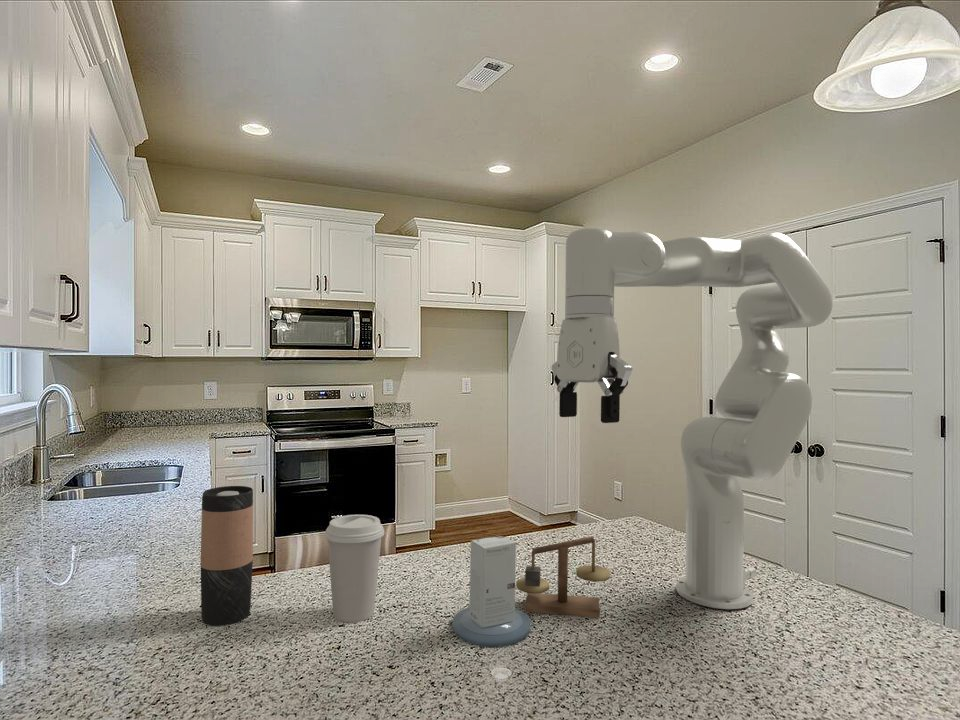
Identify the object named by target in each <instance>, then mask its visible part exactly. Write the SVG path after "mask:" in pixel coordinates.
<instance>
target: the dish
mask: <svg viewBox="0 0 960 720" xmlns="http://www.w3.org/2000/svg"><path fill="white" fill-rule="evenodd" d="M469 612H470V606H467V607H465V608H463V609H461V610H460V611H458V612H457V613H456V614H455V615H454V616H453V619H452V631H453V633H454V635H456V637H458V638H459V639H460V640H462V641H464V642H466V643H468V644H469V643H470V644H472V645H476V646H482V647H504V646H510V645H513V644H517V643H520V642H522V641H523V640H525V639H527V637H528V636H529V634H530V633H531V620H530V618H529V616H528V615H527V614H526V613H525V612H523V611H522V610H520V609H518V608H515V619H514V620H513V621H511V622H507V623H503V624H499V625H494V626H489V627H485V628H481V627H480V626H478V625H477V624H476V623H475V622H474V621H473V620H472V619H471V618H470V617H469Z"/></svg>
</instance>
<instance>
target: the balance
mask: <svg viewBox="0 0 960 720" xmlns="http://www.w3.org/2000/svg"><path fill="white" fill-rule="evenodd" d="M589 544H591V564H589V565H587V564H586V565H581V566H579V567H576V569H575V570H576V571H575V575H576V576H577V578H579V579H580V580H581V579H582V580H584V581H588V582H599V583H600V582H605V581H609V580H610V579H611V571H610V570H609V569H608V568H606V567H603V566H599V565H596V539H595V538H594V536H593V535H591V536H588V537H583V538H578V539H577V538H576V539H572V540H569V541H568V540H567V541H563V542H558V543H553V544H548V545H543V546H538V547H533V548H531V550H532V551H531V565H526V566H525V573H524V577H520V578H519V579H517V580H516V581H515V588H517V590H518V591H521V592H523V593H526V600H525V604H524V605H525V606H524V607H525V608H524V609H525V612H527V613H537V614H539V613H540V614H549V615H560V616H561V615H563V616H574V617H575V616H576V617H583V618H584V617H588V618H598V619H600V618H601V616H600V615H601V612H600V611H601V610H600V600H599V599H600V598H599V597H595V596H594V597H593V596H592V597H591V596H580V595H569V594H568V586H569V585H568V582H569V581H568V580H569V579H568V577H569V576H568V573H569V572H568V571H569V569H568V567H569V565H568V564H569V563H568V562H569V548H572V547H577V546H584V545H589ZM554 551H558V552H557V553H558V554H557V561H558V562H557V594H556V593H546V592H548V591H549V590H550V582H549V581H548V580H547V579H544V578H541V569H542V568H541V566H535V565H536V564H535V557H536V555H538V554H543V553H548V552H554ZM525 612H524V613H525Z"/></svg>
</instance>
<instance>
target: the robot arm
mask: <svg viewBox="0 0 960 720" xmlns="http://www.w3.org/2000/svg"><path fill="white" fill-rule="evenodd" d="M565 243H566V244H565V285H564V286H565V287H564V288H565V290H564V291H565V292H564V293H565V298H564V299H565V300H564V318H563V319H562V321H561V325H560V331H559V336H558V344H557V355H556V356H557V358H556V359H557V360H556V362H554V363H553V364H552V365H551V372H552V374H553V382H554V383H555V384H556V390H557V392H558V393H559V407H558V408H559V414H558V415H559V417H560V418H573V417H577V415H578V392H577V391H575V390H576V388H577V386H578V385H579V383H588V384H589V383H598V385H599V386H600V389H601V390H602V393H603V394H604V395H601V397H600V422H601V423H603V424H611V423H612V424H613V423H614V424H615V423H619V422H620V413H621V412H620V411H621V410H620V409H621V408H620V402H621V401H620V398H621V396H624V395H623V394H624V390H625V389H626V388H627V387H628V385H629V379H630V377H631V375H632V372H633V366H631V365H630V364H629V363H628V362H626V361H625V360H623V359H622V358H620V357H621V355H620V353H621V352H620V341H619V340H620V339H619V331H618V324H617V319H616V317H615V288H616V287H619V288H623V287H624V288H635V287H636V288H637V287H639V288H640V287H643V288H644V287H645V288H646V287H648V288H649V287H660V288H661V287H665V288H676V287H677V288H681V287H711V288H712V287H713V288H714V287H715V288H717V287H718V288H743V287H750V286H752V287H751V288H749V289H746V290H745V291H744V292H742V293H741V294H740V295H739V297H738V299H737V302H736V304H735V305H736V306H735V313H736V318H737V322H738V326H739V330H740V335H741V343H742V344H741V349H740V351H739V354H738V355H737V357H736V359H735V361H734V362H733V363H732V365H731V368H730V369H729V370H728V373H727V374H726V376H725V377H724V379H723V381H722V383H721V384H720V386H719V388H718V390H717V392H716V395H715V400H714V405H715V408H716V410H717V412H718V414H720V415H721V416H722V417H717V416H705V417H703V416H702V417H698V418H694V419H693V420H692V421H690V422H688V424H687V425H686V426H685V427H684V429H683V431H682V432H681V438H680V450H681V455H682V460H683V466H684V473H685V484H686V499H685V500H686V501H685V503H686V504H685V521H686V522H685V576H684V577H682V578H680V579H678V580H677V581H676V587H675V588H676V592H677V594H678V595H679V596H680V597H681V598H683V599H685V600H687V601H689V602H691V603H693V604H696V605H700V606H703V607H706V608H711V609H719V610H740V609H745V608H747V607H750V606H751V605H752V604H753V601H754V595H753V592H752V591H751V590H750V589H749V588H748V587H746V582H747V581H748V580H749V579H754V578H756V577H757V576H758V572H757V569H756V568H755V567H753V566H748V567H745V568H744V542H745V541H744V535H745V533H744V532H745V527H744V526H745V524H744V523H745V498H744V493H743V489H742V487H741V484H740V482H739V479H738V477H739V478H743V479H748V480H753V481H767V480H770V479H772V478H774V477H776V476H777V475H778V474H779V473H780V472H781V470H782V468H783V467H784V466H785V464H786V462H787V460H788V459H789V457H790V455H791V453H792V451H793V449H794V448H795V445H796V443H797V441H798V440H799V438H800V436H801V434H802V432H803V430H804V428H805V426H806V424H807V422H808V421H809V418H810V415H811V411H812V405H813V395H812V391H811V387H810V386H809V384H808V383H807V381H806V380H805V379H804V378H803V377H801V376H799V374H795V373H792V372H787V369H788V366H789V362H790V356H789V352H788V350H787V347H786V346H785V344H784V343H783V341H782V339H781V338H780V337H781V336H780V334H779V332H778V330H779V329H797V328H811V327H816V326H818V325H819V326H820V325H821V324H823V323H825V321H826V320H828V318H829V317H830V315H831V313H832V310H833V297H832V294H831V290H830V289H829V287H828V285H827V283H826V281H825V280H824V279H823V277H822V276H821V274H820V272H818V270H817V268H815V266H814V265H813V263H812V261H810V258H808V256H807V255H806V253H805V252H804V251H803V250H802V249H801V248H800V246H799V245H798V244H796V242H795V241H794V240H793V239H791V238H790V237H789V236H787V235H785V234H783V233H781V232H772V233H767V234H762V235H756V236H753V237H748V238H743V239H728V238H727V239H726V238H716V237H706V236H705V237H703V236H688V237H686V236H685V237H680V238H674V239H671V240H665V241H661V240H660V239H659V238H658V237H657V236H656V235H654V234H652V233H650V232H647V231H639V230H638V231H610V230H607V229H603V228H597V227H590V228H588V227H587V228H580V229H576V230H573V231H572V232H570V233H569V234H568V235H567V237H566V242H565ZM757 285H758V286H757ZM777 329H778V330H777Z"/></svg>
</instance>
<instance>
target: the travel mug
mask: <svg viewBox="0 0 960 720" xmlns="http://www.w3.org/2000/svg"><path fill="white" fill-rule="evenodd" d="M201 497H202V498H201V522H200V523H201V532H200V599H201V600H200V603H201V605H200V606H201V607H200V608H201V609H200V611H201V622H202V623H203V624H205V625H207V626H212V627H213V626H214V627H221V626H222V627H223V626H229V625H230V626H231V625H233V624H236V623H239V622H242V621H243V620H245V619H247V618H248V617H249V616H250V614H251V606H252V584H253V582H252V581H253V561H254V554H253V553H254V489H253V487H250V486H245V485H244V486H243V485H226V486H219V487H212V488H209V489H206V490H204V491H203V492H202V495H201ZM246 617H247V618H246Z"/></svg>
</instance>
